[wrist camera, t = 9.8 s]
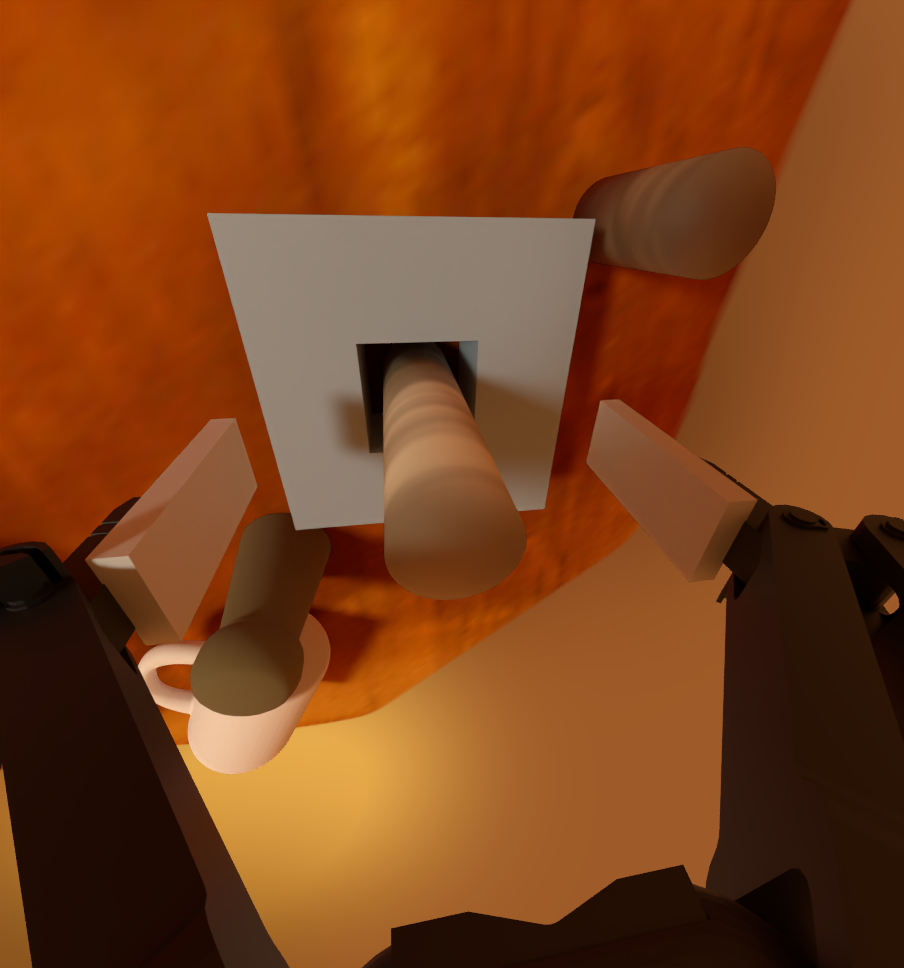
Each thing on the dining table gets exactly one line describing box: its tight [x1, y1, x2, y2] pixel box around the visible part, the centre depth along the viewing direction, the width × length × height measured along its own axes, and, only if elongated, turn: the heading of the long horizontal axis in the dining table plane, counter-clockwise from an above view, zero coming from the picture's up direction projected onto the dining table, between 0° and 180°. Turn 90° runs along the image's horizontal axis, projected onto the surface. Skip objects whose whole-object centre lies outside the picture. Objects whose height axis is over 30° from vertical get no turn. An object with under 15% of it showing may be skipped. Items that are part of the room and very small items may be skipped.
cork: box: [190, 513, 331, 716], centre depth 23 cm, size 6×6×11 cm
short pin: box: [573, 147, 776, 280], centre depth 16 cm, size 4×4×8 cm
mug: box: [138, 613, 330, 774], centre depth 29 cm, size 12×10×8 cm
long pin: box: [383, 342, 527, 600], centre depth 16 cm, size 4×4×15 cm
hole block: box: [207, 213, 596, 530], centre depth 20 cm, size 14×14×5 cm
